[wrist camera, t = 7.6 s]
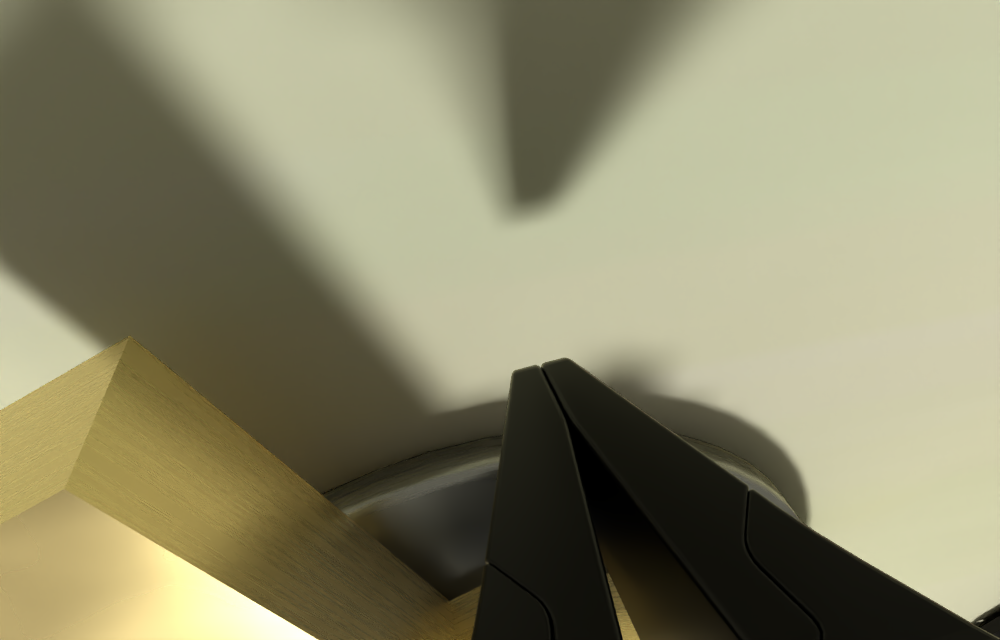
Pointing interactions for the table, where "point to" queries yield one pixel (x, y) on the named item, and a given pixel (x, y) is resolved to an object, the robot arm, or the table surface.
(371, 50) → the table surface
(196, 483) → the wooden gear crank
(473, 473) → the cap plate
